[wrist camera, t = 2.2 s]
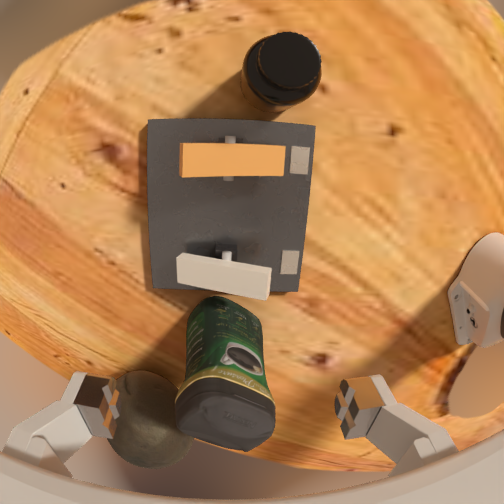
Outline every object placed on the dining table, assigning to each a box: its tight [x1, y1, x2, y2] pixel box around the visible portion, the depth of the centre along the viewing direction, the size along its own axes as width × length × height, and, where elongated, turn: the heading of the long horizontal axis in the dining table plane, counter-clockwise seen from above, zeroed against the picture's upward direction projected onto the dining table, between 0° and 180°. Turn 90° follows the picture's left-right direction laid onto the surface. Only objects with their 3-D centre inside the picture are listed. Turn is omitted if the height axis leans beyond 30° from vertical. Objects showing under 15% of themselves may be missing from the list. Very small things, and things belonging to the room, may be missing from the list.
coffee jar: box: [175, 296, 276, 452], centre depth 33 cm, size 10×8×19 cm
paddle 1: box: [179, 136, 286, 181], centre depth 28 cm, size 10×4×2 cm, turn 87°
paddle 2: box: [176, 251, 272, 301], centre depth 33 cm, size 10×4×2 cm, turn 86°
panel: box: [147, 119, 316, 292], centre depth 34 cm, size 18×20×3 cm
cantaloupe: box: [107, 370, 194, 469], centre depth 38 cm, size 14×14×15 cm
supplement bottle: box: [241, 32, 321, 112], centre depth 25 cm, size 7×7×12 cm
